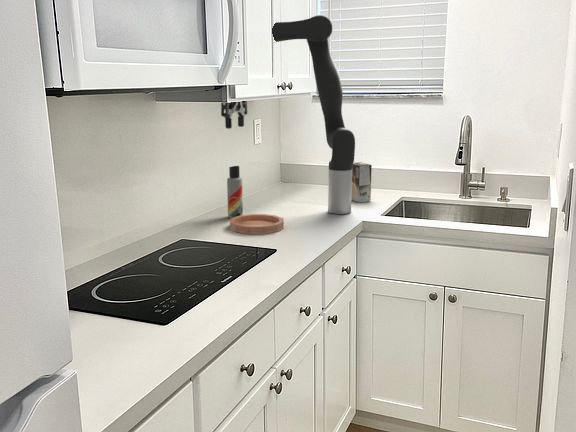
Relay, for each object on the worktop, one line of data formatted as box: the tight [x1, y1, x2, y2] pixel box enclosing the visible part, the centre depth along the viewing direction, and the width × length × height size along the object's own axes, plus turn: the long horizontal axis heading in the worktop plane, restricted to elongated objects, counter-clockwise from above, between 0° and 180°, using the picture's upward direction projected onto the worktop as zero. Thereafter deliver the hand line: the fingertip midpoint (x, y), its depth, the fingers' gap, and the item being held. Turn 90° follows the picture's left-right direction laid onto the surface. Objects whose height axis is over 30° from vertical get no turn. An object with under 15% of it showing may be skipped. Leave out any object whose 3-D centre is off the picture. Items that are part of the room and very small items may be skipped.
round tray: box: [229, 213, 285, 235], centre depth 206 cm, size 19×19×3 cm
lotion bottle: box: [226, 165, 244, 219], centre depth 219 cm, size 6×6×20 cm
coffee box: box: [351, 162, 373, 203], centre depth 250 cm, size 9×6×16 cm
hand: (234, 127), depth 213 cm, fingers open, 8 cm apart
